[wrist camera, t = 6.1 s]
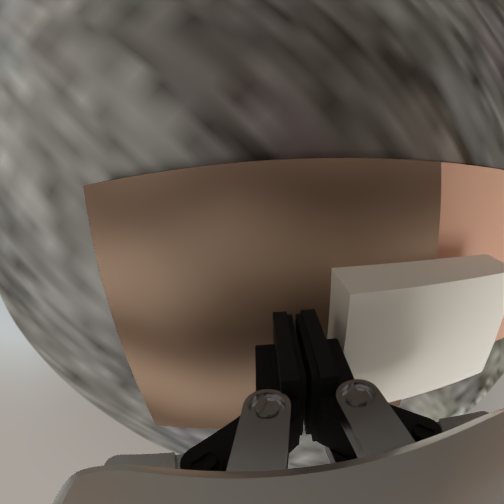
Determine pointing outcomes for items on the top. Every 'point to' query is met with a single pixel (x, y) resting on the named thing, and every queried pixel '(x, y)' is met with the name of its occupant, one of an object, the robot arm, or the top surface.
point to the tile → (417, 321)
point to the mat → (471, 214)
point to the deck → (243, 262)
